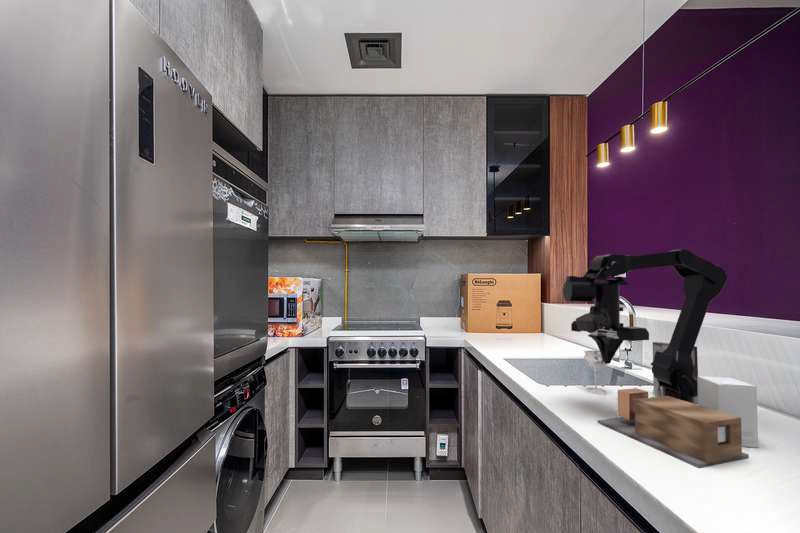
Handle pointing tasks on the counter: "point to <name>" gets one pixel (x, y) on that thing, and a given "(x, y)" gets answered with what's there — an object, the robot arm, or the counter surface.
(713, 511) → the counter surface
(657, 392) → the coffee box
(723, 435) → the shaft
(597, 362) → the wineglass
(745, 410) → the supplement box
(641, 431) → the housing
